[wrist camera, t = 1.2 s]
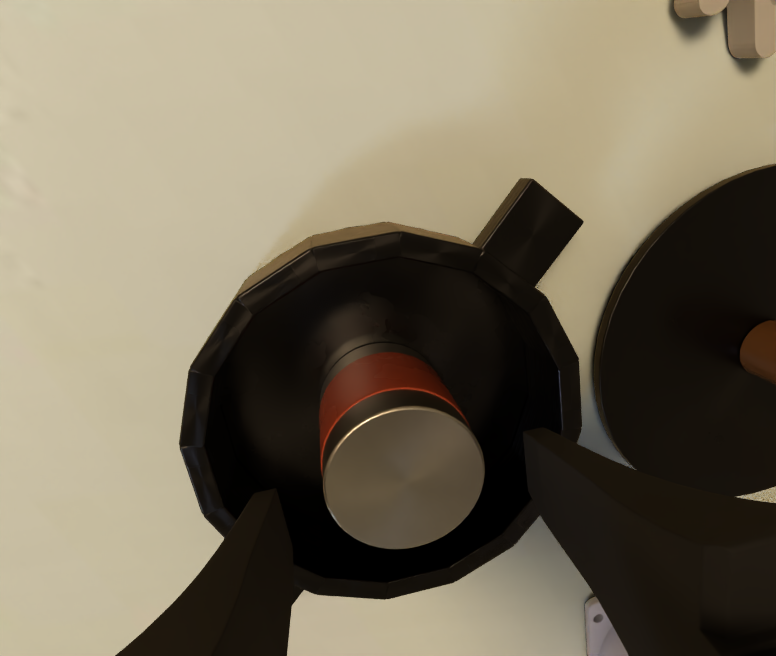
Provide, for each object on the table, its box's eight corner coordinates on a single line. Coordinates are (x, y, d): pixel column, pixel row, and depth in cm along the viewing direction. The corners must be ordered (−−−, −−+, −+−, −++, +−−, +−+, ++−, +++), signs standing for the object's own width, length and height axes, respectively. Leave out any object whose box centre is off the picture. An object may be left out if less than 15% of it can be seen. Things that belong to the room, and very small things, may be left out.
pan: (648, 294, 21) (707, 317, 17) (381, 623, 24) (392, 691, 21) (378, 74, 17) (392, 52, 14) (102, 501, 20) (63, 563, 17)
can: (448, 439, 21) (495, 530, 16) (332, 465, 20) (339, 568, 15) (432, 329, 19) (478, 388, 14) (306, 355, 19) (304, 426, 14)
